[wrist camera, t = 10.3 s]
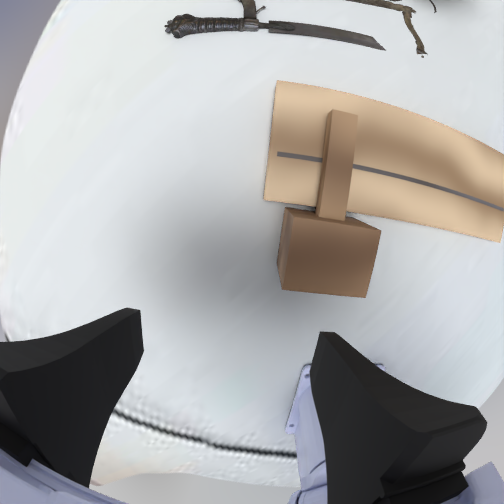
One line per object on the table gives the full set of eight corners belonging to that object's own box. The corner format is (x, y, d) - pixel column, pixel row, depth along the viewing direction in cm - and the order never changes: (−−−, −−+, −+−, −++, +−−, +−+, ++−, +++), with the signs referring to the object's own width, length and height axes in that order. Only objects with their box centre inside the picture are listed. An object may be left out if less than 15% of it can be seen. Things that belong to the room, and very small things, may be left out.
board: (490, 239, 19) (500, 243, 17) (263, 198, 19) (263, 200, 17) (499, 158, 17) (510, 158, 15) (275, 87, 17) (277, 79, 15)
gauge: (342, 270, 20) (365, 297, 15) (276, 262, 20) (282, 289, 15) (364, 130, 17) (395, 117, 12) (296, 115, 17) (309, 95, 12)
